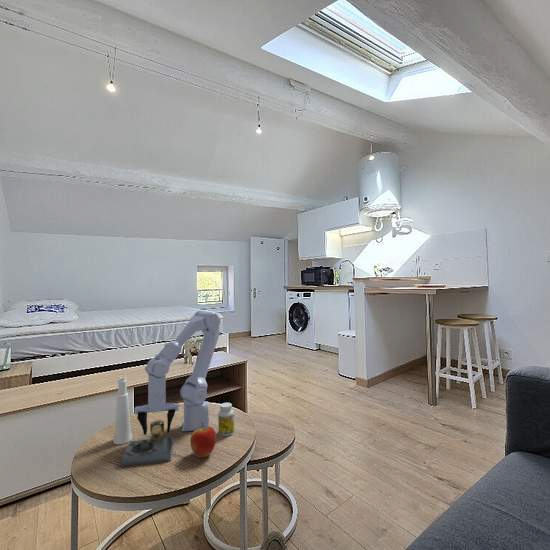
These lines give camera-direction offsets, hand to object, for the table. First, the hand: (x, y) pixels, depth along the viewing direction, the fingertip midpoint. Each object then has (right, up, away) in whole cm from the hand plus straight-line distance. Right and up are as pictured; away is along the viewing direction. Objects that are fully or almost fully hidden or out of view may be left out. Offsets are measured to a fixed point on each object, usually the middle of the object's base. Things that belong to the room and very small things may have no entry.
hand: (157, 432), depth 110 cm
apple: (+18, -3, -9) cm, 21 cm away
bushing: (0, -3, 0) cm, 3 cm away
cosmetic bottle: (-12, -3, 0) cm, 13 cm away
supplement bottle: (+24, -3, +5) cm, 24 cm away
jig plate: (+1, -3, -9) cm, 9 cm away
